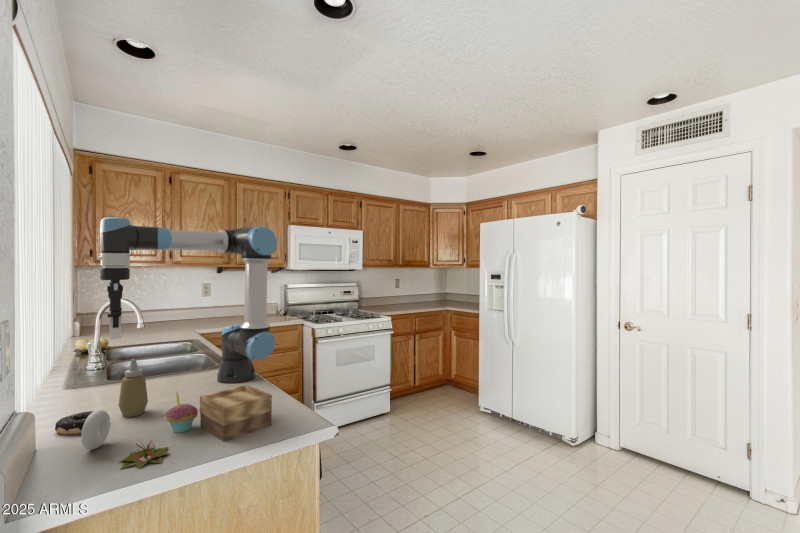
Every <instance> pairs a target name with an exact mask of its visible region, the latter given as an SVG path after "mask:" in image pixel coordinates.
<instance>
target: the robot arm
mask: <svg viewBox="0 0 800 533" xmlns="http://www.w3.org/2000/svg"><path fill="white" fill-rule="evenodd" d="M99 235H100V238H99V240H100V255H99V256H97V260H100V266H101V268H100V270H99V279H100V280H102V281H110V282H109V283H108V284H109V285H107V287H106V288H107V289H106V290H107V297H108V299H109V307H108V308H109V309H108V310H109V313H108V314H107V318H108V319H109V320H108V322H109V324H108V325H109V327H108V328H109V339H110V340H115V339H122V313H123V312H122V311H123V310H122V298H123V291H124V286H123V285H122V283H121V281H125V280H130V277H131V273H130V271H131V269H130V268H129V267H130V266H131V252H130V251H152V250H153V251H160V250H161V251H163V250H165V251H166V250H167V251H218V252H219V253H221V254H222V253H223V254H224V253H225V254H236V255H241V258H240V259H241V260H242V261H243V263H244V266H245V267H244V270H245V271H244V306H243V307H244V309H243V310H244V312H243V313H244V314H243V315H244V318H243V321H244V322H243V323H241V324H233V325H227V326H226V325H225V326H223V327H222V329H221V330H222V331H221V363H220V366H219V368H218V371H217V375H216V380H217V382H219V383H223V384H237V383H243V382H249V381H251V380H253V379H254V378H256V371H255V368H254V365H253V361H262V360H265V359H267V358H268V357H269V356H271V354H272V353H273V352H274V350H275V348H276V347H275V346H276V339H275V336H274V335H273V333H271V325H270V323H268V321H267V316H268V315H267V305H268V304H267V302H268V301H267V300H268V299H267V298H268V264H269V263H270V262H271V261H272V254H274V252H275V251H276V249H277V247H278V238H277V235H276V234H275V232H273V230H271V229H270V228H269V227H266V226H260V225H258V226H250V227H249V226H248V227H240V228H232V229H219V231H208V230H207V231H206V230H204V231H203V230H179V229H169V228H167V227H161V226H145V225H144V226H140V225H133V224H131V221H130V219H129V218H127V217H125V218H124V217H112V216H109V217H108V216H107V217H103V218H102V219H101V220H100V230H99Z"/></svg>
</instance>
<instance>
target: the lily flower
mask: <svg viewBox="0 0 800 533" xmlns="http://www.w3.org/2000/svg"><path fill="white" fill-rule="evenodd" d="M139 442H140V443H141V444H142V445H139V443H138V444H137V443H135V445H136V450H135V451H133V452H132V451H130V452H129V455H127V456H126V457H124V458H123V459H122V460H119V461H118V462H119V463H120V462H124V463H123V464H122V465H121V468H120V467H119V470H122V469H125V468H129V467H133V466H137V467H138V468H139V470H140V469H141V468H142V467H144V465H146V464H151V463H152V464H158V463H159V464H163V463H162V462H163V458H162V457H161V456H167V455H171V453H170V452H168V451H166V450H167V449H168V448H169V446H167V447H159V448H156V445H155V443H153V442H154V441H153V440H152V439H151V440H150V441H149V443H148V444H147V445H146V448H145V445H144V444H143V443H142V440H139ZM150 446H151V447H150ZM138 448H141V449H138ZM148 457H149V458H148ZM142 458H144V459H145V460H142ZM152 459H153V460H152ZM151 460H152V461H151ZM133 463H134V464H133Z"/></svg>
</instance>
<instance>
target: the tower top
mask: <svg viewBox="0 0 800 533" xmlns="http://www.w3.org/2000/svg"><path fill="white" fill-rule="evenodd" d="M272 398H273V394H271V393H270V392H267V391H264V390H261V389H259V388H257V387H256V388H255V387H253V386H251V385H248V384H243V385H240V386H239V385H238V386H235V387H231V388H226V389H224V390H223V389H222V390H220V391H216V392H211V393H208V394H204V395H200V396H199V413H201V414H203V415H205V416H207V417H209V418H211V419H213V420H215V421H216V422H218V423H220V424H222V425H224V426H225V425H228V424H231V423H234V422H238V421H241V420H244V419H247V418H250V417H253V416H256V415H259V414H263V413H266V412H269V411H272V410H273V408H272V407H273V406H272V403H273V400H272Z"/></svg>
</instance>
